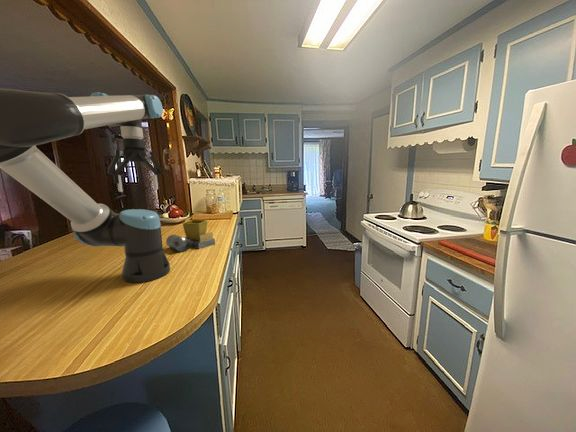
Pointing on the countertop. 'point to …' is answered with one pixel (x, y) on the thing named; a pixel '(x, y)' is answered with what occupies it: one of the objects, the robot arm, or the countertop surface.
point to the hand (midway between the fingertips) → (139, 190)
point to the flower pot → (195, 228)
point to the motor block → (190, 242)
